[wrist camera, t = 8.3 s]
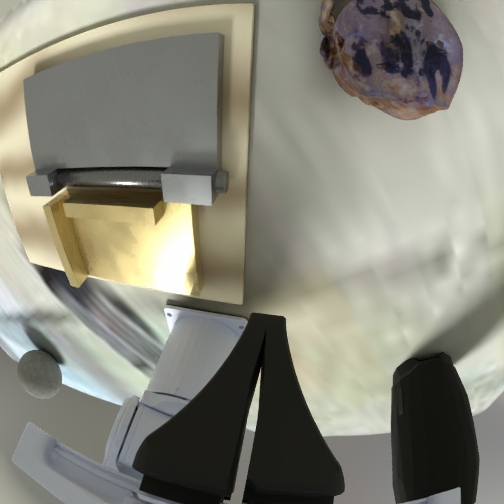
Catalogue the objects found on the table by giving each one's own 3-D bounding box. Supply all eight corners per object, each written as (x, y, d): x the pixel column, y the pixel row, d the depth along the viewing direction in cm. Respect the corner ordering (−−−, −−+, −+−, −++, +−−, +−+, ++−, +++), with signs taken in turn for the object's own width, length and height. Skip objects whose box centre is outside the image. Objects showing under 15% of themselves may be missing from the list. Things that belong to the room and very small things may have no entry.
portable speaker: (464, 360, 26) (489, 503, 10) (406, 393, 31) (413, 526, 15) (439, 337, 24) (469, 517, 8) (372, 376, 29) (374, 537, 13)
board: (243, 299, 24) (242, 305, 24) (33, 259, 27) (30, 262, 26) (254, 5, 11) (253, 3, 11) (-8, 79, 14) (-13, 80, 13)
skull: (322, -68, 7) (329, -116, 2) (440, -33, 7) (487, -57, 2) (310, 95, 14) (316, 104, 9) (429, 123, 14) (480, 151, 9)
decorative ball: (37, 354, 46) (17, 388, 38) (27, 332, 40) (3, 369, 32) (72, 377, 47) (53, 413, 39) (66, 358, 42) (43, 399, 34)
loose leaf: (203, 286, 23) (192, 312, 21) (87, 265, 24) (71, 285, 22) (196, 193, 18) (180, 215, 16) (65, 188, 19) (42, 205, 17)
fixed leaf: (229, 190, 18) (220, 206, 16) (45, 184, 20) (27, 196, 18) (233, 34, 12) (222, 28, 10) (30, 78, 14) (9, 83, 12)
